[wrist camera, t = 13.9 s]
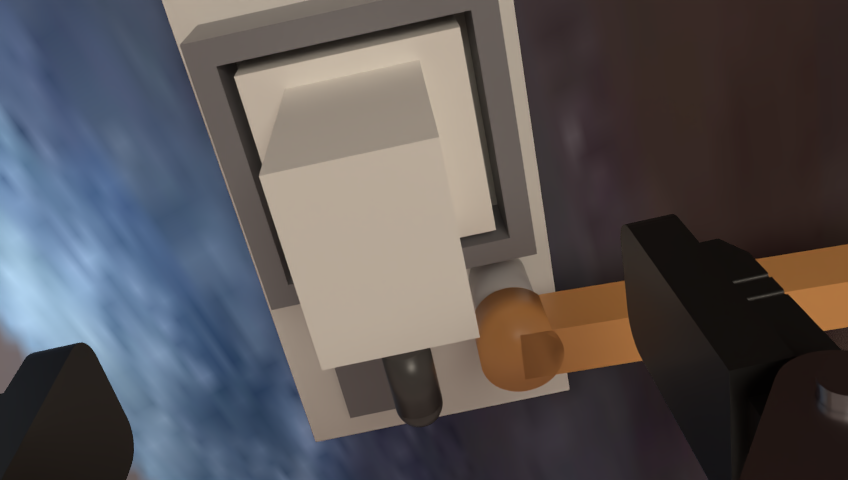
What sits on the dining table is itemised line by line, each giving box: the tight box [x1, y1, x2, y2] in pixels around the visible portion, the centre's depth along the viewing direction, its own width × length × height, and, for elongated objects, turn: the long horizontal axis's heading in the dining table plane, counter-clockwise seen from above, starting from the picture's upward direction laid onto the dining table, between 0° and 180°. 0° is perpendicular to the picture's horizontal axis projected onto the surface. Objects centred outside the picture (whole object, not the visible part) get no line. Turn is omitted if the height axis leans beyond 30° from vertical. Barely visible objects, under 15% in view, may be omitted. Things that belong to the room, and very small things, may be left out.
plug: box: [234, 14, 496, 427], centre depth 17 cm, size 7×5×7 cm
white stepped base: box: [162, 0, 569, 442], centre depth 21 cm, size 15×8×4 cm, turn 11°
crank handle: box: [475, 244, 848, 392], centre depth 17 cm, size 14×2×7 cm, turn 98°
